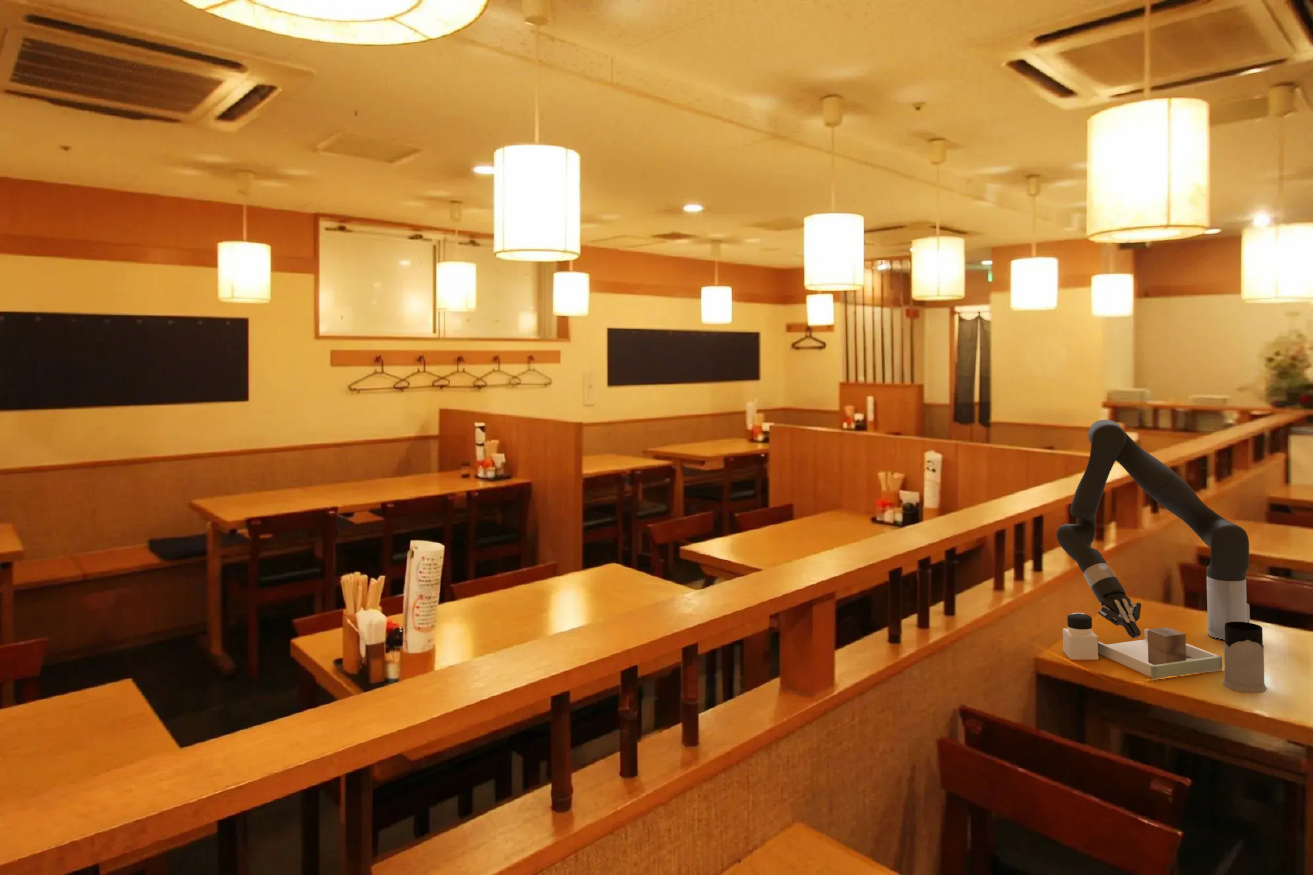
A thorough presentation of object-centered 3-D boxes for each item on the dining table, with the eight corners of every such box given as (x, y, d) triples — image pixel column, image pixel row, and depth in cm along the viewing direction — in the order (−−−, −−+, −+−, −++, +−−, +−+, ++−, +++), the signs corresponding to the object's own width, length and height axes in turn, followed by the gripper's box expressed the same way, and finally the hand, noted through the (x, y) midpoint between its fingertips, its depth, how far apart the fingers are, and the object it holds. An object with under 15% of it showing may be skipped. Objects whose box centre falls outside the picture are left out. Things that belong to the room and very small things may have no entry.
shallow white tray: (1147, 640, 234) (1147, 628, 234) (1222, 670, 209) (1222, 656, 209) (1085, 649, 231) (1085, 637, 230) (1154, 680, 206) (1153, 666, 206)
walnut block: (1168, 659, 217) (1167, 626, 217) (1186, 667, 211) (1185, 633, 211) (1148, 662, 216) (1147, 629, 216) (1166, 670, 210) (1165, 636, 210)
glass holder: (1227, 691, 197) (1226, 630, 196) (1213, 670, 210) (1212, 613, 209) (1271, 694, 193) (1270, 632, 192) (1254, 673, 206) (1253, 615, 205)
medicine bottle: (1099, 661, 221) (1097, 618, 220) (1070, 661, 223) (1069, 618, 222) (1090, 652, 228) (1089, 610, 227) (1063, 652, 229) (1061, 610, 229)
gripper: (1089, 578, 231) (1122, 633, 220) (1130, 573, 234) (1165, 627, 223) (1077, 591, 237) (1108, 646, 226) (1117, 586, 239) (1150, 640, 228)
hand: (1136, 636), depth 224 cm, fingers closed
